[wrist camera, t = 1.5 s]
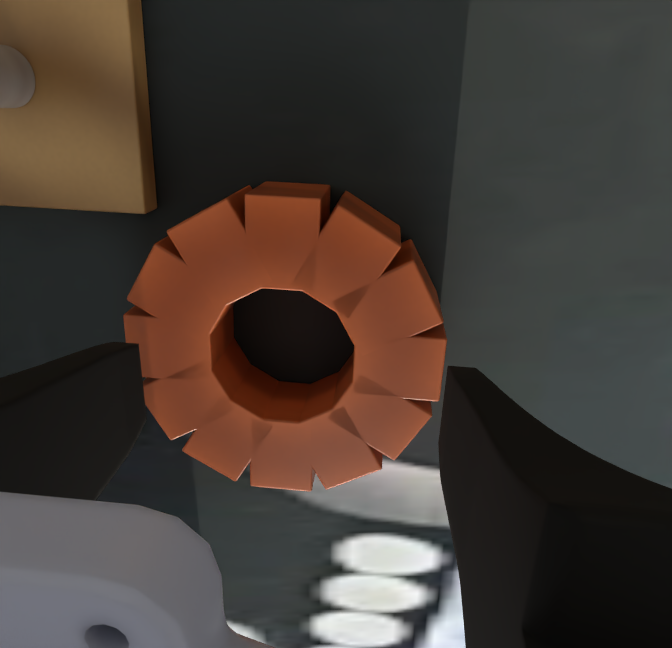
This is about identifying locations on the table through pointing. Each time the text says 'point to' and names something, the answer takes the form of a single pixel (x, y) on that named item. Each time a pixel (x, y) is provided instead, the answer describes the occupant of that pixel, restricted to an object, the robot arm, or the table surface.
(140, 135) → the rack
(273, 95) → the table surface
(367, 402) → the ring
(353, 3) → the table surface
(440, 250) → the table surface
